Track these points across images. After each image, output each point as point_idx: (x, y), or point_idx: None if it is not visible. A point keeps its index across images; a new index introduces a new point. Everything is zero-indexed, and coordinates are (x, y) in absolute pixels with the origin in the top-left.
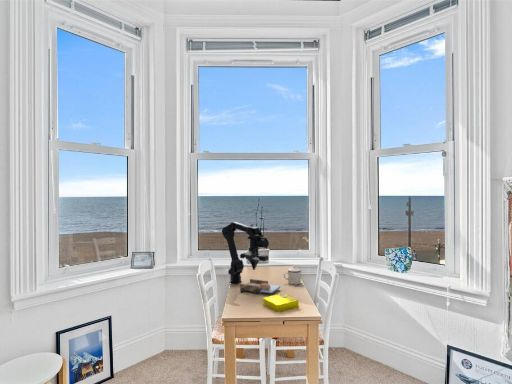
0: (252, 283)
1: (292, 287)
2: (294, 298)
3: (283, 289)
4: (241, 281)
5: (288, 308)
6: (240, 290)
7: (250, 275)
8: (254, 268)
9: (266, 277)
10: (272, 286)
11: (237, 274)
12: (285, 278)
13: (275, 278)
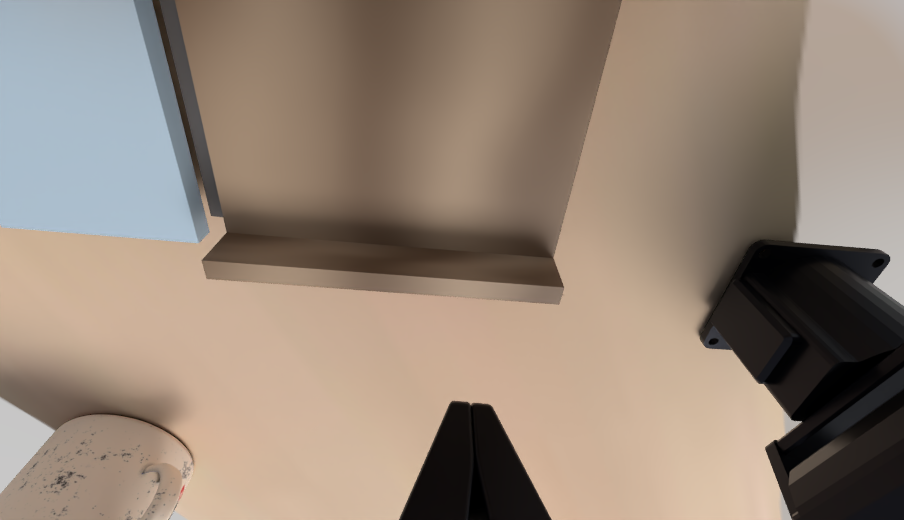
0: (486, 203)
1: (15, 331)
2: None
3: None
4: (702, 337)
5: None
6: None
7: (637, 511)
8: (433, 441)
9: None
10: (76, 157)
11: (848, 362)
12: (163, 471)
13: (373, 500)
